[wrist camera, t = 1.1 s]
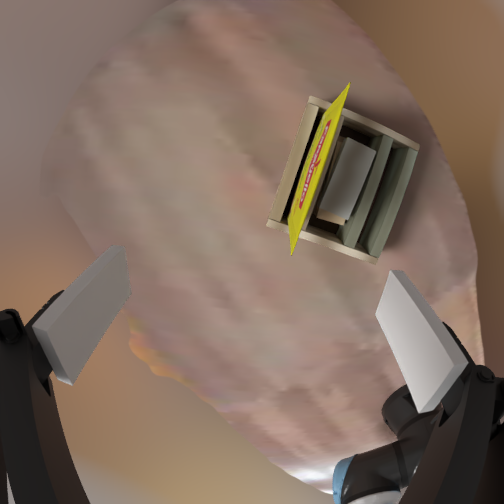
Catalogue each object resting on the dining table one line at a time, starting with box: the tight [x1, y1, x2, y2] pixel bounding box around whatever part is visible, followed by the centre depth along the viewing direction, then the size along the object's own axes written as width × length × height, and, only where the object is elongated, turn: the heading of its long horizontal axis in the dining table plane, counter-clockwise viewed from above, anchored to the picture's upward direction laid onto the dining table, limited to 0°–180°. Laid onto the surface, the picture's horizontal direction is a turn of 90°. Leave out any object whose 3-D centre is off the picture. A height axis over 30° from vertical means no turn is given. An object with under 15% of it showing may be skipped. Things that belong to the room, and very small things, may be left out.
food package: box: [287, 82, 351, 256], centre depth 30 cm, size 15×1×20 cm, turn 163°
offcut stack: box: [312, 136, 376, 226], centre depth 37 cm, size 5×12×6 cm, turn 162°
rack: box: [266, 96, 420, 265], centre depth 37 cm, size 16×18×6 cm
